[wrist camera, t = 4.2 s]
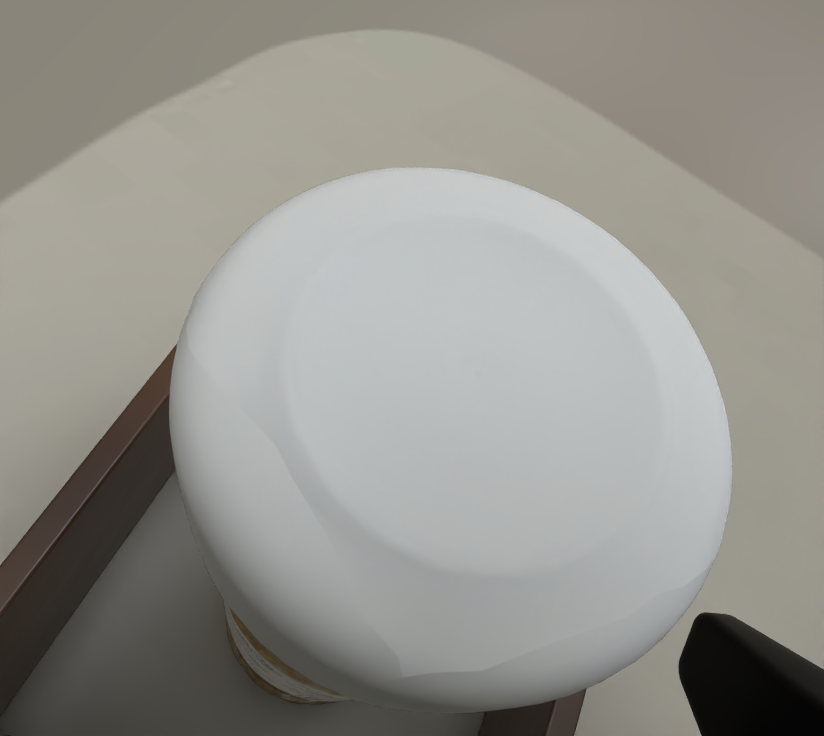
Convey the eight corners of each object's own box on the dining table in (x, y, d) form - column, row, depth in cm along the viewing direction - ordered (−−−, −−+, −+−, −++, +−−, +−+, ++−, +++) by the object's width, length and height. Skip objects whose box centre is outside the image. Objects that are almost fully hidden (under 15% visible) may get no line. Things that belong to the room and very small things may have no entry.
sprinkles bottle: (406, 525, 18) (703, 194, 6) (400, 712, 16) (830, 727, 4) (237, 510, 17) (222, 95, 5) (206, 705, 15) (72, 699, 3)
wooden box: (418, 997, 13) (477, 1098, 10) (-52, 742, 14) (-153, 754, 10) (561, 553, 19) (633, 518, 15) (218, 372, 19) (212, 297, 15)
